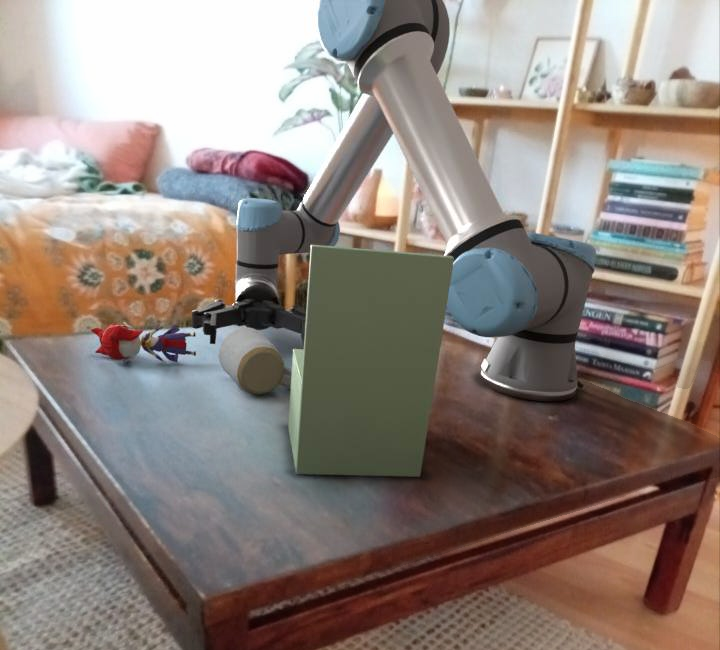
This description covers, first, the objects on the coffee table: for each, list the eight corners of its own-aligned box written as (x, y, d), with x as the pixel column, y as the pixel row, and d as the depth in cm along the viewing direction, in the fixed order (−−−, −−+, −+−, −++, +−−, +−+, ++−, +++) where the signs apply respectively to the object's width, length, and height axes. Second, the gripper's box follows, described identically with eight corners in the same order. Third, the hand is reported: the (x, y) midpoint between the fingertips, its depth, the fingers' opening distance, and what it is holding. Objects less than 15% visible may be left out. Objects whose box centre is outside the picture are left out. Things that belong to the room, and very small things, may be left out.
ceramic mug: (236, 399, 95) (239, 343, 91) (217, 379, 101) (218, 326, 98) (307, 394, 100) (312, 341, 96) (285, 376, 106) (288, 325, 103)
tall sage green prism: (396, 431, 91) (423, 237, 80) (420, 477, 79) (454, 257, 69) (288, 427, 88) (300, 226, 77) (296, 474, 77) (311, 246, 66)
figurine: (196, 367, 103) (87, 366, 99) (195, 361, 111) (93, 360, 107) (195, 322, 101) (84, 319, 97) (194, 320, 109) (91, 317, 105)
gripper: (327, 329, 124) (343, 366, 106) (182, 320, 120) (172, 358, 101) (331, 286, 121) (348, 317, 102) (182, 275, 116) (171, 305, 98)
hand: (260, 337), depth 102 cm, fingers open, 13 cm apart
